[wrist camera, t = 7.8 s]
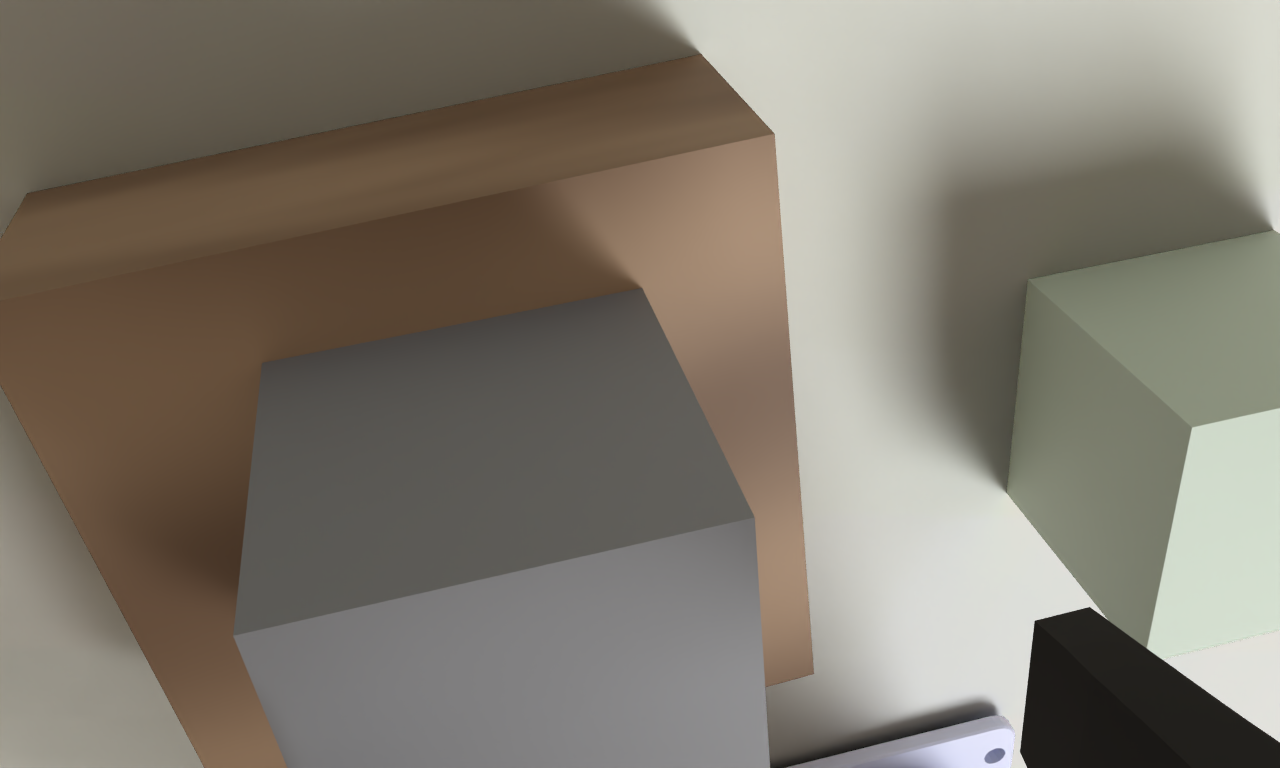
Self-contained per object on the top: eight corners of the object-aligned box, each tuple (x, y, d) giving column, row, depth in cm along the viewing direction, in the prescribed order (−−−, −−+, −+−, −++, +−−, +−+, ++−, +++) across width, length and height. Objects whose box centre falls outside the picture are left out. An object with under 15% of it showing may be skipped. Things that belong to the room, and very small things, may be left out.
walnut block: (746, 530, 23) (814, 674, 20) (252, 656, 22) (237, 829, 19) (694, 45, 18) (774, 133, 15) (33, 181, 17) (-40, 308, 14)
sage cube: (1224, 441, 25) (1402, 600, 20) (1004, 490, 24) (1143, 664, 20) (1271, 228, 22) (1488, 361, 18) (1025, 277, 21) (1192, 427, 17)
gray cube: (674, 567, 18) (773, 835, 14) (354, 641, 17) (359, 944, 13) (642, 287, 15) (753, 517, 11) (261, 362, 15) (233, 636, 11)
